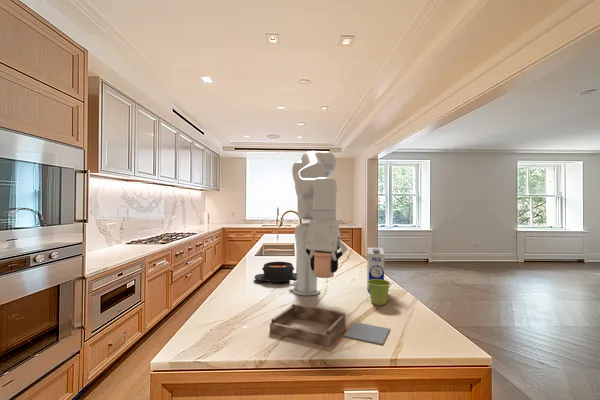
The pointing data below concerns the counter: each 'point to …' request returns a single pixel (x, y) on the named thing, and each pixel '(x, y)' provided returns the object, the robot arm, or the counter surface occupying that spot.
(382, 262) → the milk carton
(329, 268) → the terracotta pot
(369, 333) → the mat
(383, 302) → the plant pot
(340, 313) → the wooden tray
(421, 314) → the counter surface
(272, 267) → the casserole
